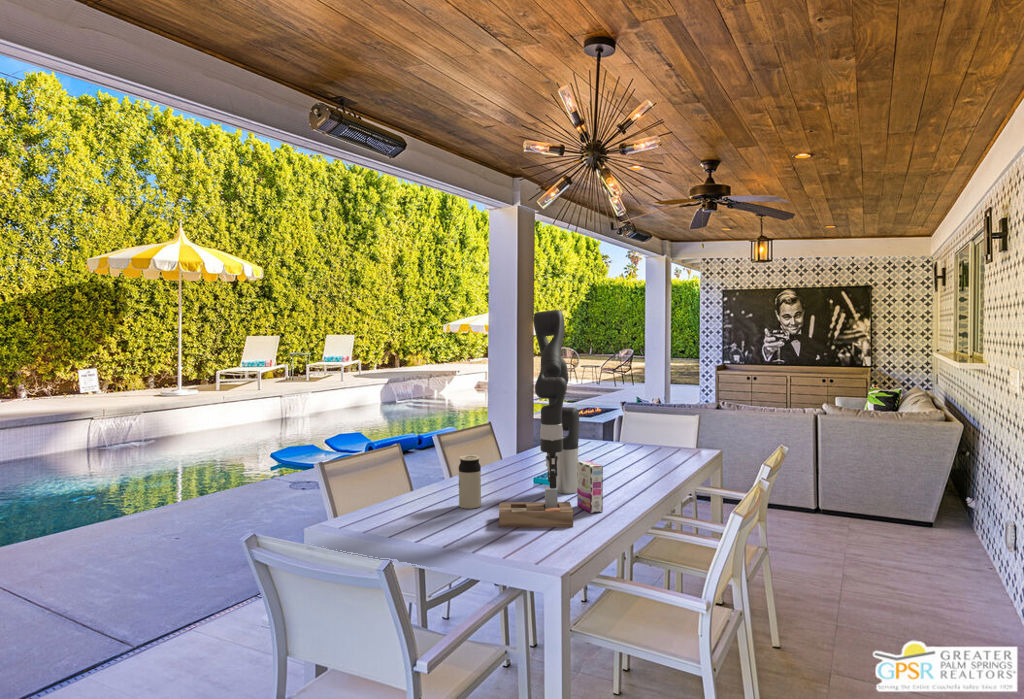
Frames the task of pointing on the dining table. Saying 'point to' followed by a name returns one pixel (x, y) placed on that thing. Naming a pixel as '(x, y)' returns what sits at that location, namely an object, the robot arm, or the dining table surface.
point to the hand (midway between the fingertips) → (552, 485)
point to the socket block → (535, 515)
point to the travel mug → (469, 482)
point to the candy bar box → (590, 486)
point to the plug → (551, 498)
